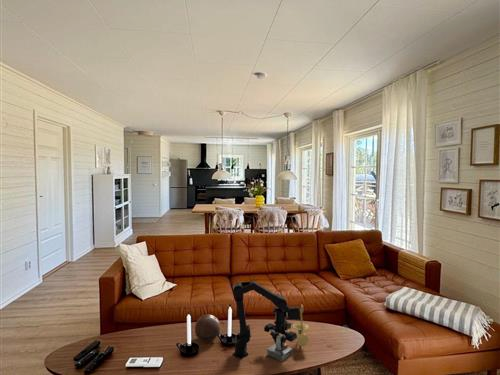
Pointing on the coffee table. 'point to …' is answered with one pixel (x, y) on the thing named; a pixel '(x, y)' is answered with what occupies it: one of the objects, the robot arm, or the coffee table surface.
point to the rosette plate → (277, 354)
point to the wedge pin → (278, 343)
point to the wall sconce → (301, 330)
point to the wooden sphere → (207, 328)
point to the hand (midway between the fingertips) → (279, 347)
